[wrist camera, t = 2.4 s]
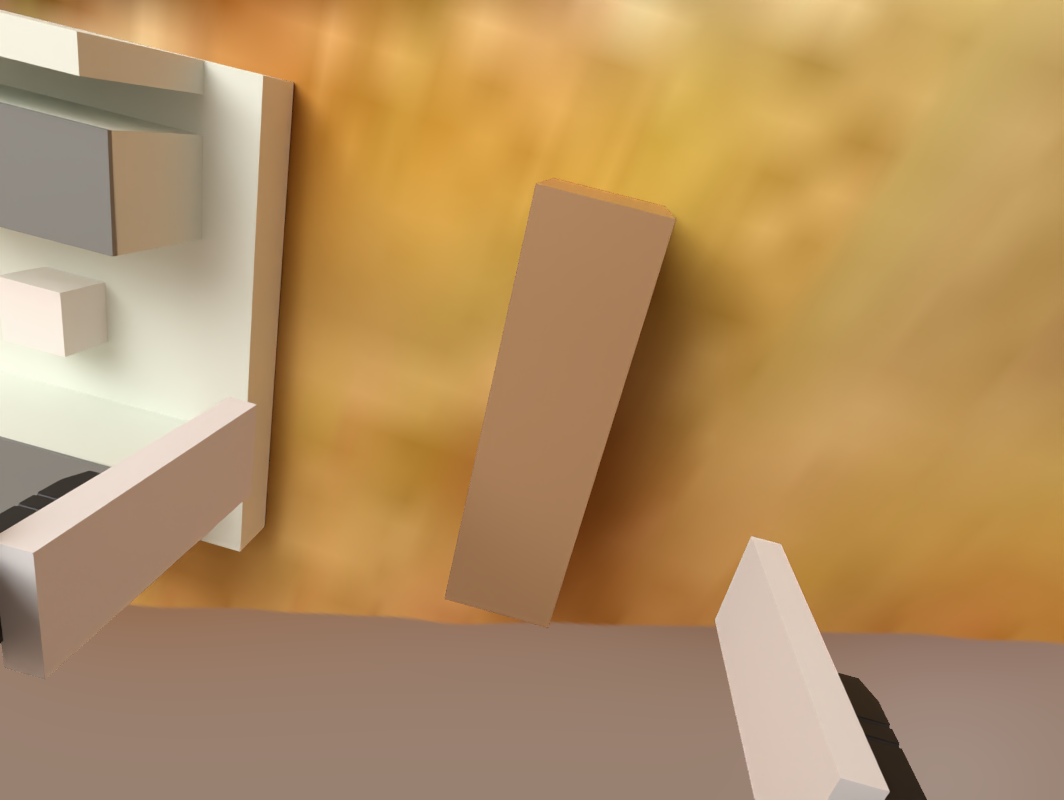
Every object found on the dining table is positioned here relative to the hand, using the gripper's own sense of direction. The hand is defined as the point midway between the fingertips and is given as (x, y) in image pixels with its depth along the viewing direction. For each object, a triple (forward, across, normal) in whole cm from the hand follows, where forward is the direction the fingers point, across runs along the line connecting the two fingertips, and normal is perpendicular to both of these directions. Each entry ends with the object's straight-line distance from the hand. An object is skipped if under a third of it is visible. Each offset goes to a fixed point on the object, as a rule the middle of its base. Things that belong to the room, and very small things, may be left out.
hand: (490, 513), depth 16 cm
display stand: (+9, -18, 0) cm, 20 cm away
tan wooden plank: (+10, +1, 0) cm, 10 cm away
